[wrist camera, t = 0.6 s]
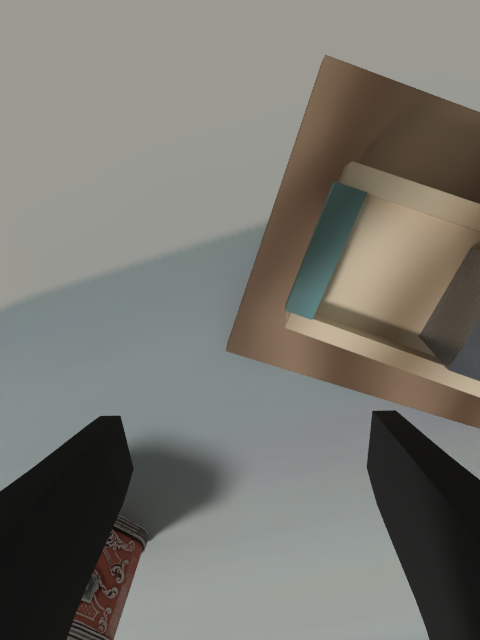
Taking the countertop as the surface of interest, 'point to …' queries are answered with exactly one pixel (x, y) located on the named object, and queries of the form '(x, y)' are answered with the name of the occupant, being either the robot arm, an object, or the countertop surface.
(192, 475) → the countertop surface
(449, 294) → the grey block
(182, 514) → the countertop surface
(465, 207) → the beam
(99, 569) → the red tin
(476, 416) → the stand
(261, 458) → the countertop surface
